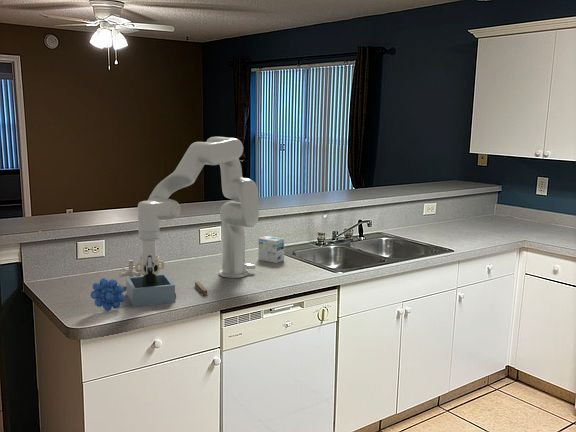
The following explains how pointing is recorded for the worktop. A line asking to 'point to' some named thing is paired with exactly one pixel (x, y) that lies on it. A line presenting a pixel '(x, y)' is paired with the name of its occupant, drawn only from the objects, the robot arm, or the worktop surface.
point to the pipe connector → (129, 271)
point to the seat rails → (199, 288)
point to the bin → (150, 291)
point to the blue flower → (107, 294)
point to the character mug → (156, 271)
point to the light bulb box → (271, 249)
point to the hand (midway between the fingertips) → (150, 280)
